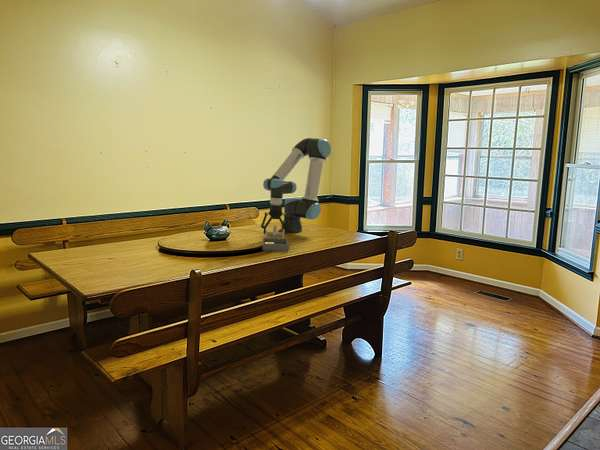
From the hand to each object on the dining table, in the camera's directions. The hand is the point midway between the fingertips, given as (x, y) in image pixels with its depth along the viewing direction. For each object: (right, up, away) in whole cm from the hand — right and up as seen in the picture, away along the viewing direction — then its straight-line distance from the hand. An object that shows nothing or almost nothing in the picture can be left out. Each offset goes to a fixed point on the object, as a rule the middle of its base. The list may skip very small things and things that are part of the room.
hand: (274, 239), depth 279 cm
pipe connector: (0, -1, 0) cm, 1 cm away
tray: (+1, -5, -15) cm, 16 cm away
